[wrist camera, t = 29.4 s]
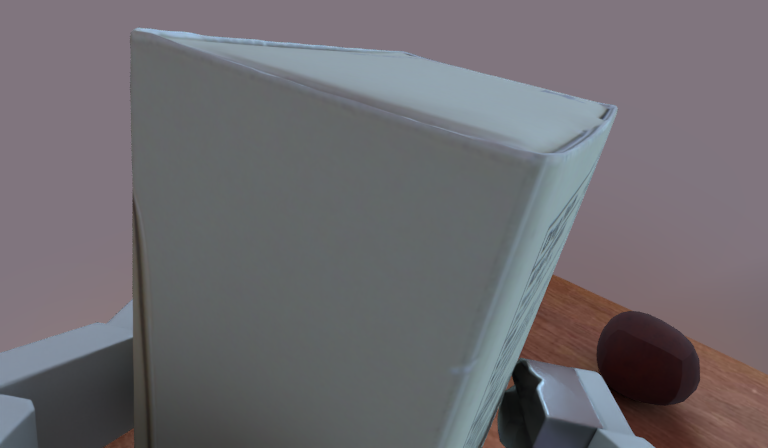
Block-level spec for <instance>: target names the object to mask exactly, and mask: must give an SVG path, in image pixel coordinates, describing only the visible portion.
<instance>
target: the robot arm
mask: <svg viewBox="0 0 768 448" xmlns="http://www.w3.org/2000/svg"><path fill="white" fill-rule="evenodd" d="M512 377H513V381H514V384H515V385H514V386H512V387H511V388H509V389H508V390H506V391H505V392H504V394H503V397H502V400H501V402H500V406H499V412H498V433H499V438H500V442H501V443H502V444H503V445H504V446H505V447H506V448H655V447H654V446H652V445H651V444H650V443H649V442H648V441H646V440H645V439H644V438H641V437H636V436H635V435H634V433H633V432H632V430H631V428H630V426H629V424H628V423H627V421H626V419H625V417H624V415H623V414H622V412H621V410H620V408H619V406H618V405H617V403H616V401H615V399H614V397H613V396H612V394H611V392H610V390H609V388H608V387H607V385H606V383H605V381H604V379H603V378H602V376H601V375H599V374H598V373H597V372H594V371H589V370H583V369H578V368H572V367H571V368H569V367H564V366H559V365H554V364H549V363H544V362H539V361H534V360H529V359H524V358H520V359H519V360H518V362H517V363H516V365H515V367H514V369H513V372H512ZM132 428H134V369H133V299H132V300H131V301H130V302H129V303H128V304H127V305H126V306H125V307H124V308H122V309H121V310H120V311H119V312H118V313H117V314H116V315H115V316H114V317H113V318H112V319H111V320H110V321H109V322H108V323H106V324H104V323H99V322H97V323H94V324H90V325H87V326H84V327H81V328H78V329H75V330H71V331H68V332H65V333H62V334H59V335H55V336H52V337H49V338H46V339H43V340H40V341H36V342H33V343H30V344H27V345H24V346H20V347H18V348H14V349H11V350H8V351H5V352H1V353H0V448H103V447H104V446H106V445H108V444H109V443H111V442H112V441H114V440H115V439H117V438H118V437H120V436H122V435H123V434H125V433H126V432H128V431H129V430H131V429H132Z"/></svg>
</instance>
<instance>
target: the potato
mask: <svg viewBox="0 0 768 448" xmlns="http://www.w3.org/2000/svg"><path fill="white" fill-rule="evenodd" d="M597 363H598V368H599V371H600V373H601V375H602V377H603V378H604V380H605V381H606V383H607V384H608V385H609V386H610V387H611V388H612V389H613V390H615V391H617V392H618V393H620V394H622V395H623V396H625V397H628V398H631V399H634V400H637V401H640V402H643V403H648V404H654V405H664V406H665V405H671V404H676V403H680V402H683V401H685V400H686V399H687V398H688V397H689V396H690V395H691V394H692V393H693V392H694V391H695V390H696V389H697V386H698V384H699V381H700V365H699V358H698V356H697V353H696V351H695V349H694V346H693V345H692V343H691V342H690V341H689V340H688V339H687V338H686V337H685V336H684V335H683V334H682V333H681V332H680V331H678V330H677V329H675V328H674V327H672V326H670V325H669V324H667V323H665V322H664V321H662V320H660V319H658V318H656V317H653V316H651V315H649V314H645V313H642V312H636V311H628V312H623V313H620V314H618V315H616V316H615V317H613V318H612V319H611V320H610V321H609V322H608V324H607V325H606V326H605V327H604V329H603V331H602V333H601V335H600V338H599V341H598V346H597Z"/></svg>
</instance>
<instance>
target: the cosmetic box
mask: <svg viewBox="0 0 768 448" xmlns="http://www.w3.org/2000/svg"><path fill="white" fill-rule="evenodd" d="M130 46H131V47H130V48H131V75H130V77H131V78H130V81H131V82H130V88H131V89H130V93H131V134H132V135H131V136H132V173H133V224H132V227H133V369H134V448H482V446H483V444H484V442H485V439H486V437H487V434H488V432H489V429H490V427H491V425H492V422H493V420H494V417H495V415H496V412H497V410H498V407H499V405H500V402H501V400H502V397H503V394H504V392H505V390H506V387H507V385H508V382H509V380H510V377H511V375H512V372H513V369H514V367H515V365H516V363H517V360H518V358H519V355H520V353H521V350H522V348H523V345H524V343H525V340H526V338H527V336H528V333H529V331H530V328H531V326H532V323H533V321H534V318H535V316H536V313H537V311H538V308H539V306H540V303H541V301H542V298H543V296H544V294H545V291H546V289H547V286H548V284H549V281H550V279H551V276H552V274H553V271H554V269H555V266H556V264H557V261H558V259H559V256H560V254H561V252H562V249H563V247H564V244H565V242H566V239H567V237H568V234H569V232H570V229H571V227H572V224H573V222H574V219H575V217H576V215H577V212H578V209H579V207H580V205H581V202H582V200H583V197H584V195H585V192H586V190H587V187H588V185H589V182H590V180H591V177H592V175H593V172H594V170H595V167H596V165H597V162H598V159H599V157H600V154H601V152H602V149H603V147H604V144H605V141H606V139H607V137H608V134H609V132H610V129H611V127H612V124H613V121H614V119H615V116H616V114H617V110H618V109H617V106H615V105H611V104H603V103H598V102H594V101H590V100H586V99H582V98H578V97H574V96H570V95H566V94H563V93H559V92H555V91H551V90H547V89H543V88H539V87H535V86H531V85H527V84H523V83H519V82H515V81H511V80H508V79H504V78H500V77H495V76H491V75H487V74H484V73H479V72H476V71H472V70H468V69H464V68H461V67H457V66H453V65H449V64H445V63H441V62H437V61H434V60H430V59H428V58H424V57H420V56H417V55H415V54H411V53H407V52H403V51H382V50H368V49H359V48H343V47H342V48H341V47H331V46H323V45H305V44H297V43H289V42H288V43H283V42H269V41H262V40H254V39H236V38H224V37H214V36H204V35H198V34H195V33H187V32H173V31H161V30H155V29H150V28H148V29H143V28H136V29H134V30H133V31H132V32H131V36H130Z"/></svg>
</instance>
